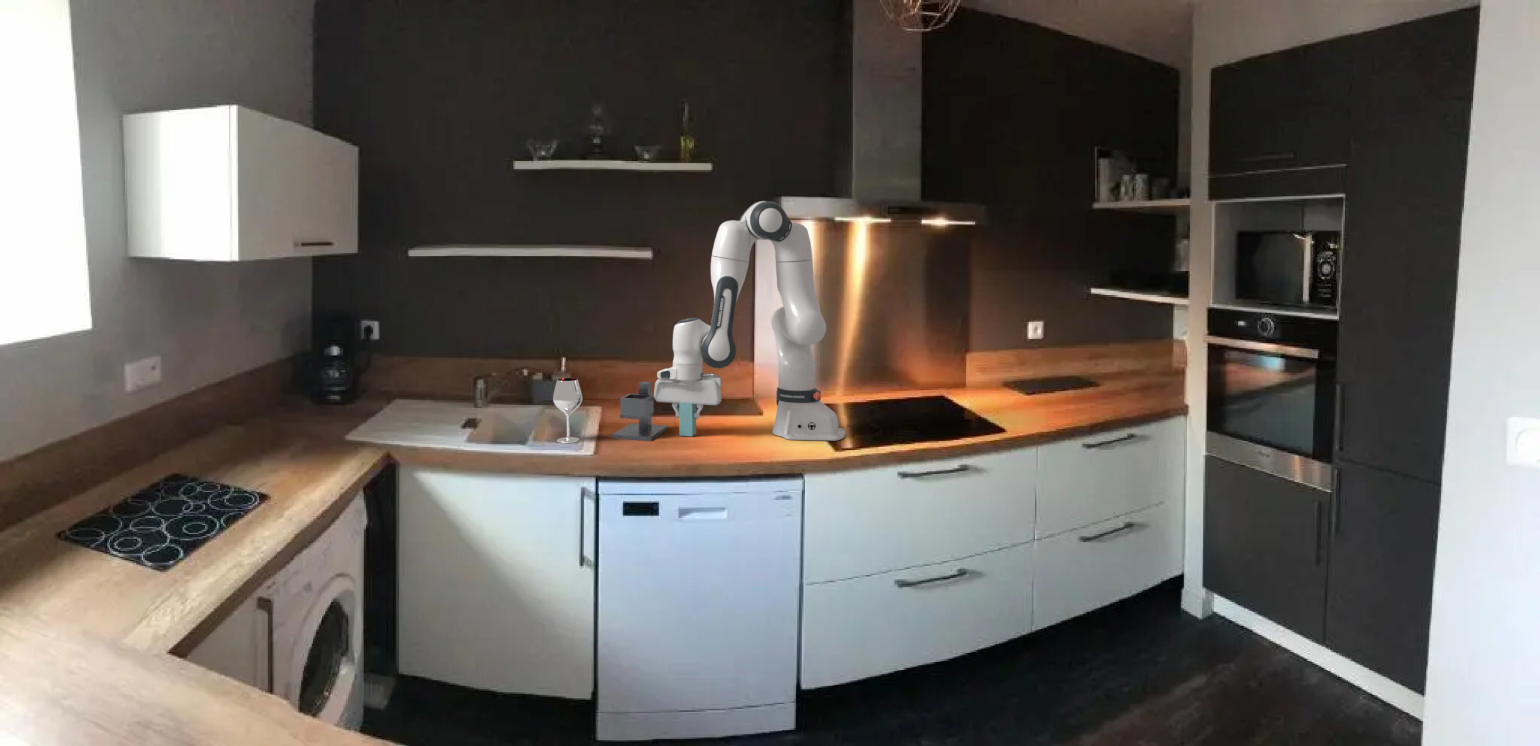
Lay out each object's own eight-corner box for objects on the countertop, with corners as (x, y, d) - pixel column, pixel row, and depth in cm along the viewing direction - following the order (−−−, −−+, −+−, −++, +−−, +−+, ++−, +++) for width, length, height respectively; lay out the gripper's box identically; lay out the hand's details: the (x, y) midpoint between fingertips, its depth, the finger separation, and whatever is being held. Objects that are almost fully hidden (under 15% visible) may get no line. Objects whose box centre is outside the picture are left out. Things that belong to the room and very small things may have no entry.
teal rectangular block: (696, 433, 261) (696, 401, 260) (692, 436, 257) (692, 403, 256) (683, 432, 262) (683, 400, 261) (679, 435, 258) (679, 402, 257)
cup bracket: (668, 429, 267) (668, 381, 265) (650, 441, 252) (650, 390, 249) (631, 426, 269) (631, 379, 267) (611, 438, 254) (611, 388, 252)
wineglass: (577, 436, 256) (576, 376, 253) (586, 441, 249) (586, 380, 246) (550, 439, 252) (548, 378, 249) (559, 445, 245) (558, 382, 242)
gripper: (724, 372, 258) (723, 417, 260) (659, 369, 262) (659, 413, 264) (718, 375, 252) (718, 422, 254) (651, 372, 256) (652, 418, 258)
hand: (687, 417), depth 259 cm, fingers closed on teal rectangular block, 4 cm apart
